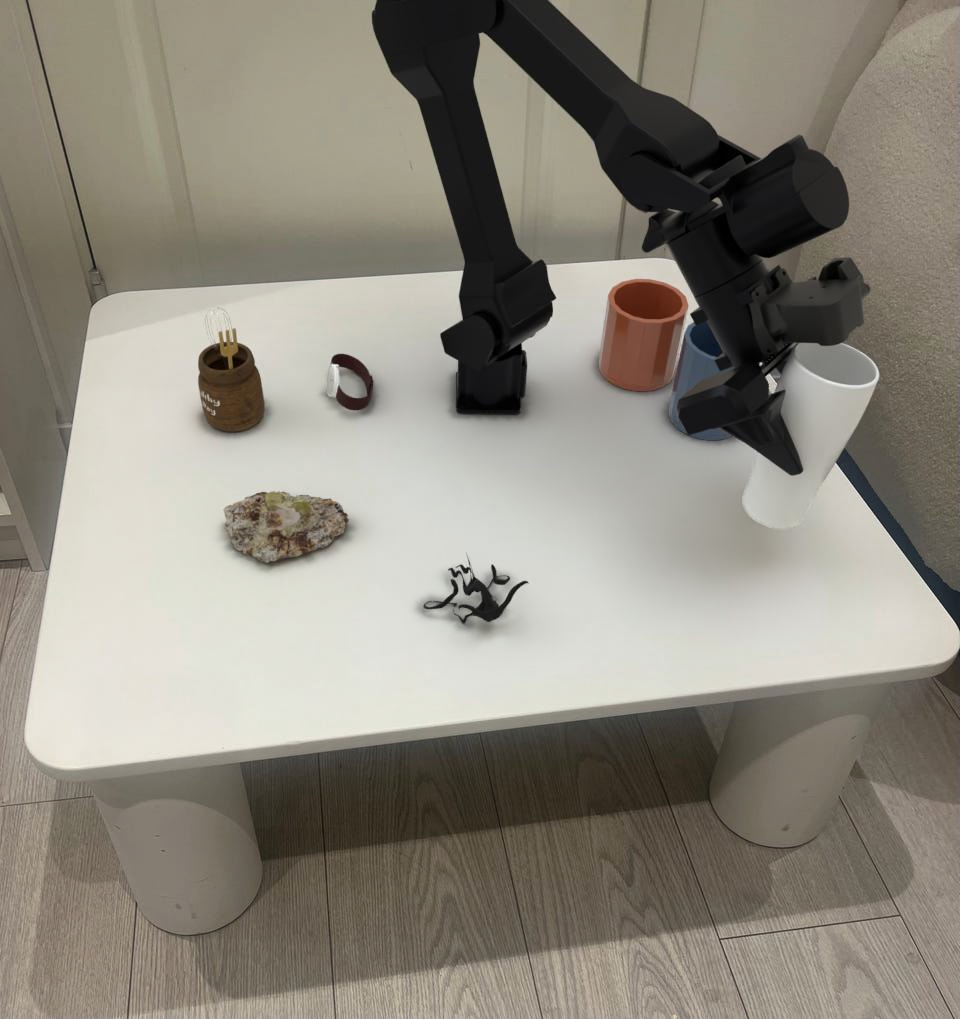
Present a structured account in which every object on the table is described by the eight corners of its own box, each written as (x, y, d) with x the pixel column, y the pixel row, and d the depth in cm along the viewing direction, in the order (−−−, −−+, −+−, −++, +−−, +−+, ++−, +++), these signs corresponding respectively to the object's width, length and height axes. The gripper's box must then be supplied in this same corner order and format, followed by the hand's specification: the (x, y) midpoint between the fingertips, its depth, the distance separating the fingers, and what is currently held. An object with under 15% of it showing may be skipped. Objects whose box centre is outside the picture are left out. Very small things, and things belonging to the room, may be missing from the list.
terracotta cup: (602, 390, 105) (613, 321, 99) (595, 345, 111) (604, 278, 105) (679, 392, 105) (694, 323, 99) (667, 347, 111) (681, 279, 105)
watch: (321, 373, 105) (318, 344, 103) (365, 367, 106) (364, 338, 104) (334, 419, 100) (331, 390, 98) (381, 412, 101) (379, 383, 99)
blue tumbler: (674, 439, 100) (692, 361, 93) (663, 393, 105) (679, 316, 98) (748, 441, 100) (771, 362, 93) (734, 394, 105) (754, 317, 99)
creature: (411, 600, 85) (453, 653, 79) (404, 548, 82) (447, 599, 76) (493, 570, 88) (540, 619, 82) (490, 518, 85) (537, 566, 79)
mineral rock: (218, 554, 83) (222, 472, 87) (224, 578, 87) (227, 497, 91) (350, 550, 85) (347, 469, 89) (350, 573, 89) (348, 494, 92)
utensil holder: (255, 390, 103) (240, 287, 95) (274, 426, 99) (259, 323, 91) (197, 404, 101) (176, 301, 93) (214, 442, 97) (194, 337, 89)
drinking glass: (822, 539, 83) (896, 389, 74) (745, 538, 82) (810, 385, 72) (794, 486, 88) (859, 339, 79) (721, 484, 87) (778, 334, 77)
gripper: (748, 290, 65) (853, 494, 68) (874, 193, 76) (960, 373, 79) (630, 341, 74) (727, 519, 77) (757, 247, 85) (838, 408, 88)
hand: (818, 452), depth 80 cm, fingers closed on drinking glass, 6 cm apart
